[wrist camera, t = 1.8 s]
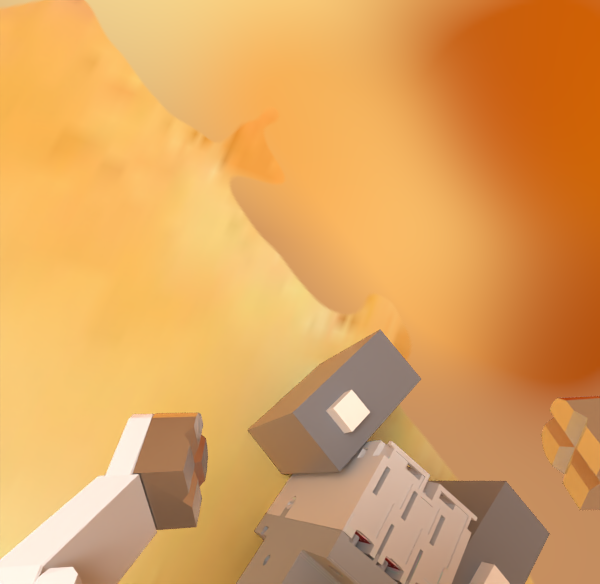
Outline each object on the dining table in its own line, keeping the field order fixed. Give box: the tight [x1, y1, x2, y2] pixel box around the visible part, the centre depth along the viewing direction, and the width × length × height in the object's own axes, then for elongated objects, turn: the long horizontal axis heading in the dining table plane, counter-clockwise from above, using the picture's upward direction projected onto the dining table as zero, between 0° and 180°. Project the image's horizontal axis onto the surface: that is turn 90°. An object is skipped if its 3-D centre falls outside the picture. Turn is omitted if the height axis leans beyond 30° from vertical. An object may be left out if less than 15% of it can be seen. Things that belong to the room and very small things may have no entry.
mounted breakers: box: [248, 330, 549, 584], centre depth 36 cm, size 10×20×13 cm, turn 43°
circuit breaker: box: [236, 440, 477, 584], centre depth 31 cm, size 8×14×15 cm, turn 143°
